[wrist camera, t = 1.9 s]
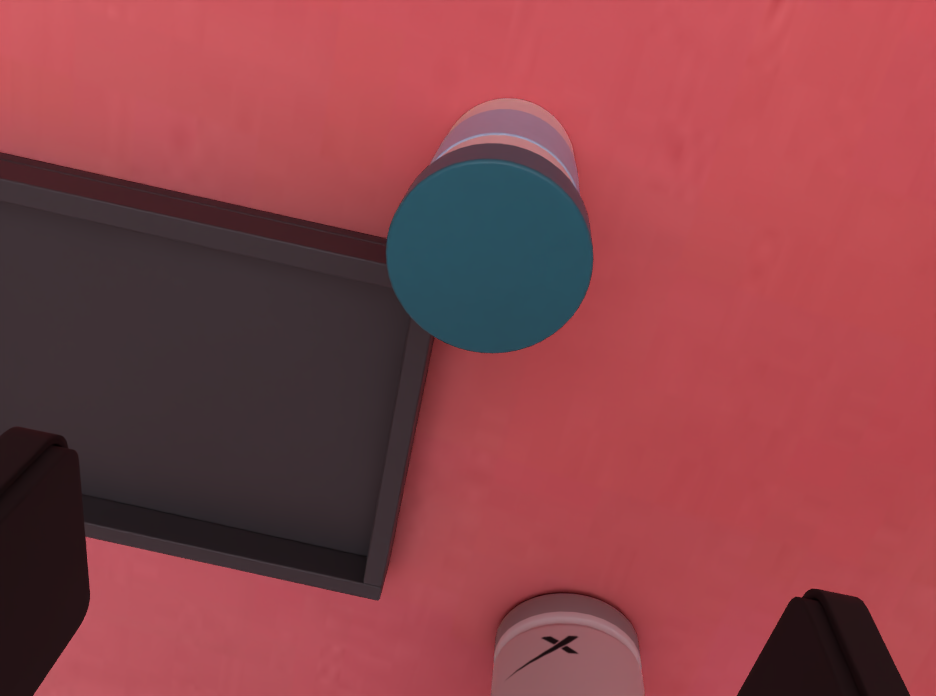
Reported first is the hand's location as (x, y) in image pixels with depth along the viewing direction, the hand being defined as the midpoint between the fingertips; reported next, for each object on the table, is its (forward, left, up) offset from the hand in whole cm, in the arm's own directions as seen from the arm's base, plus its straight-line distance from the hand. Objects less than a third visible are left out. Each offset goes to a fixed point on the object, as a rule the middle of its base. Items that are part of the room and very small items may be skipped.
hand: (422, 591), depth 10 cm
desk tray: (+9, -11, -16) cm, 22 cm away
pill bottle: (-1, 0, -16) cm, 16 cm away
